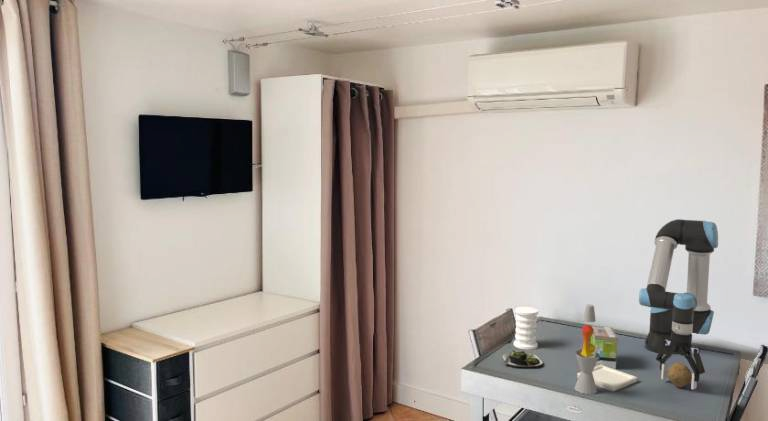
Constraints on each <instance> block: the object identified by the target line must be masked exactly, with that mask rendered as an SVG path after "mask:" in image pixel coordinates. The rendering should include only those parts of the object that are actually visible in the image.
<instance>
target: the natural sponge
mask: <svg viewBox="0 0 768 421" xmlns="http://www.w3.org/2000/svg"><path fill="white" fill-rule="evenodd" d="M666 376H667V377H668V379H669V380H670V381H671V382H672V383H673V385H674V386H675V387H677V388H683V387H686V385H689V384H691V383H692V371H691V370H690V368H689V367H688V366H687V365H685V364H684V363H683V362H674V363H673V364H672V365H670V367H669V368H668V369H667V375H666Z"/></svg>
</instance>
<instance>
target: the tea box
mask: <svg viewBox="0 0 768 421" xmlns="http://www.w3.org/2000/svg"><path fill="white" fill-rule="evenodd" d="M590 326H591V327H592V328H593V330H594V332H593V334H592V336H591V338H590V340H589V344H593V345H594V346H595V351H594V352H596V353H598V354H599V358H598V361H597V363H596V365H595V367H596V366H599V365H603V366H606V367H609V368H612V369H615V370H616V368H617V357H618V356H617V355H618V354H617V353H618V342H619V341H618V340H619V339H618V336H617V333H616V332H615V331H614V329H613V327H609V326H608V327H607V326H593V325H590Z"/></svg>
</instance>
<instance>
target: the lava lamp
mask: <svg viewBox="0 0 768 421" xmlns="http://www.w3.org/2000/svg"><path fill="white" fill-rule="evenodd" d="M583 311H584V312H583V316H582V321H584V322H587V323H594V322H595V323H596V313H595V306H594V305H593V304H588V303H587V304H585V307H584V310H583ZM591 326H592V325H589V324H586V325H584V326H583V327H582V329H581V332H582V337H583V343H582V345H583V346H582V349H580V350H577V351H576V352H575V356H576V360H577V362H578V366H579V369H580V372H581V373H580V372H579V373H580V375H579V378H577V381H576V383H575V385H574V390H575V391H576V392H577V391H578V393H581V394H583V393H585V395H595V394H597V392H598V388H597V385H595V381H594V377H593V374H592V372H593V370H594V367H595V365H596V363H597V361H598V358H599V354H598V353H596V352H594V351H595V346H594V345H593V344H589V340H590V338H591V336H592V334H593V332H594V330H593V328H592V327H591Z"/></svg>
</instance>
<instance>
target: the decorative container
mask: <svg viewBox="0 0 768 421" xmlns="http://www.w3.org/2000/svg"><path fill="white" fill-rule="evenodd" d="M515 313H516V314H515V319H516V320H515V321H516V322H515V336H514V337H515V340H514V341H513V347H516V348H517V349H520V350H531V351H532V350H536V349H537V348H538V347H539V346H538V345H539V343H538V342H537V332H538V331H537V327H538V323H537V321H538V317H537V316H538V315H539V310H538V309H537V308H535V307H530V306H518V307H516V308H515Z"/></svg>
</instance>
